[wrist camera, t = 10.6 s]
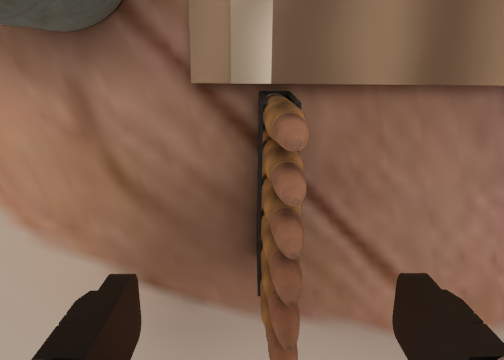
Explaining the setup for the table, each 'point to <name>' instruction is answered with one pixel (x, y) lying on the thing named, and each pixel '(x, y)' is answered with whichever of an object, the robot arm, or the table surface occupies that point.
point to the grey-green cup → (55, 13)
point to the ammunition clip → (280, 218)
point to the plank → (347, 42)
